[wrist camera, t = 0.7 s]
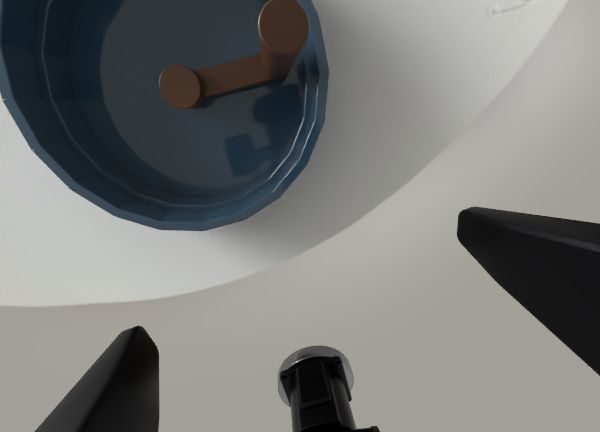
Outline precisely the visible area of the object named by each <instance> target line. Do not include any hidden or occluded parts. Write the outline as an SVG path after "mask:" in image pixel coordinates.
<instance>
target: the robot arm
mask: <svg viewBox="0 0 600 432" xmlns="http://www.w3.org/2000/svg"><path fill="white" fill-rule="evenodd" d="M457 237H458V240H459V241H460V243H461V244H462V245H463V246H464V247H465V248H466V249H467V251H468V252H469V253H470V254H471V255H472V256H473V257H474V258H475V259H476V260H477V261H478V263H479V264H480V265H481V266H482V267H483V268H484V269H485V270H486V271H487V272H488V273H489V274H490V276H491V277H492V278H493V279H494V280H495V281H496V282H497V283H498V284H499V285H500V286H501V287H502V288H503V289H505V290H506V291H507V292H508V293H509V294H510V295H511V296H512V297H514V298H515V299H516V300H517V301H518V302H519V303H520V304H521V305H522V306H523V307H524V308H526V309H527V310H528V311H529V312H530V313H531V314H532V315H533V316H535V318H537V319H538V320H539V321H540V322H541V323H542V324H543V325H544V326H545V327H547V328H548V329H549V330H550V331H551V332H552V333H553V334H554V335H556V336H557V337H558V338H559V339H560V340H561V341H562V342H563V343H564V344H565V345H566V346H567V347H569V348H570V349H571V350H572V351H573V352H574V353H575V354H576V355H577V356H579V357H580V358H581V359H582V360H583V361H584V362H585V363H586V364H587V365H588V366H590V367H591V368H592V369H593V370H594V371H595V372H596V373H597V374H598V375H599V376H600V224H598V223H591V222H583V221H576V220H569V219H562V218H554V217H547V216H540V215H532V214H525V213H517V212H511V211H503V210H496V209H488V208H481V207H471V208H468V209H465V210H462V211H461V212H460V213H459V216H458V229H457ZM285 375H286V376H285ZM280 380H281V383H282V385H283V388H284V391H285V393H286V396H287V399H288V401H289V404H290V406H291V414H292V428H293V432H380V431H379V429H378V427H377V426H371V427H370V428H364V429H356V426H355V423H354V419H353V415H352V412H351V408H350V404H349V402H350V401H351V400H352V398H351V394H350V390H349V386H348V383H347V379H346V375H345V371H344V367H343V364H342V360H341V357H339V356H334V357H330V358H327V359H323V360H319V361H316V362H312V363H309V364H305V365H301V366H298V367H294V368H290V369H287V370H283V371H281V372H280ZM158 425H159V353H158V349H157V346H156V345H155V343H154V342H153V341H152V339H151V338H150V336H149V335H148V333H147V332H146V330H145V329H144V328H143V327H142V326H136V327H133V328H130V329H127V330H124V331H123V332H121V333H120V334H119V335H118V337H117V338H116V339H115V340H114V341H113V342H112V344H110V346H109V347H108V348H107V349H106V350H105V352H104V353H103V354H102V355H101V356H100V357H99V358H98V359H97V361H96V362H95V363H94V364H93V365H92V366H91V368H90V369H89V370H88V371H87V372H86V373H85V374H84V376H83V377H82V378H81V379H80V380H79V381H78V383H77V384H76V385H75V386H74V387H73V388H72V389H71V391H70V392H69V393H68V394H67V395H66V396H65V397H64V399H63V400H62V401H61V402H60V403H59V404H58V405H57V407H56V408H55V409H54V410H53V411H52V412H51V413H50V415H49V416H48V417H47V418H46V419H45V420H44V422H43V423H42V424H41V425H40V426H39V427H38V428H37V430H36V431H35V432H158V427H159V426H158Z"/></svg>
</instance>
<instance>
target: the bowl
mask: <svg viewBox="0 0 600 432" xmlns="http://www.w3.org/2000/svg"><path fill="white" fill-rule="evenodd" d="M268 1H269V0H0V93H1V97H2V99H3V102H4V104H5V105H6V107H7V109H8V110H9V112H10V114H11V116H12V117H13V119H14V121H15V122H16V124H17V126H18V128H19V129H20V131H21V133H22V134H23V136H24V138H25V140H26V141H27V143H28V145H29V146H30V148H31V150H33V152H34V153H35V154H36V155H37V156H38V157H39V158H40V159H41V160H42V161H43V162H44V163H45V164H46V165H47V166H48V167H49V168H50V169H51V170H52V171H53V172H54V173H55V174H56V175H57V176H58V177H59V178H60V179H61V180H62V181H63V182H64V183H65V184H66V185H67V186H68V187H69V188H70V189H72V191H74V192H75V193H77V194H79V195H80V196H82V197H84V198H85V199H87V200H89V201H90V202H92V203H94V204H95V205H97V206H99V207H100V208H102V209H104V210H105V211H107V212H109V213H110V214H112V215H114V216H116V217H119V218H122V219H125V220H129V221H132V222H135V223H139V224H142V225H145V226H149V227H152V228H155V229H159V230H160V229H161V230H187V231H206V230H210V229H213V228H217V227H221V226H224V225H228V224H232V223H235V222H239V221H243V220H244V219H247V218H249V217H250V216H252V215H253V214H255V213H256V212H258V211H260V210H261V209H263V208H264V207H266V206H267V205H269V204H271V203H272V202H274V201H275V200H277V199H278V198H279V197H281V196H282V194H283V193H284V192H285V191H286V190H287V188H288V187H289V186H290V185H291V184H292V182H293V181H294V180H295V179H296V178H297V176H298V175H299V174H300V173H301V171H302V170H303V169H304V168H305V167H306V165H307V164H308V161H309V159H310V156H311V154H312V151H313V149H314V146H315V144H316V141H317V139H318V136H319V134H320V132H321V129H322V127H323V124H324V121H325V110H326V99H327V88H328V78H329V72H328V71H329V68H328V63H327V58H326V52H325V47H324V42H323V37H322V31H321V26H320V21H319V17H318V14H317V12H316V10H315V8H314V6H313V4H312V2H311V0H295V1H297V2H298V3H299V4H300V5H301V6H302V8H303V9H304V11H305V13H306V15H307V18H308V23H309V32H308V37H307V40H306V42H305V44H304V46H303V47H302V49H301V51H300V53H299V55H298V57H297V59H296V60H295V62H294V64H293V66H292V68H291V70H290V71H289V73H288V75H287V77H286V78H285V79H283V80H281V81H272V82H268V83H264V84H260V85H257V86H253V87H249V88H245V89H242V90H238V91H234V92H230V93H226V94H223V95H219V96H215V97H211V98H208V99H207V101H206V103H205V104H204V105H203V106H201V107H199V108H196V109H182V108H177V107H174V106H172V105H170V104H169V103H168V102H167V101H166V100H165V99H164V98H163V96H162V94H161V92H160V88H159V78H160V75H161V73H162V72H163V70H164V69H166V68H167V67H169V66H171V65H183V66H186V67H188V68H190V69H191V70H193V71H195V70H199V69H203V68H207V67H210V66H214V65H218V64H222V63H226V62H229V61H233V60H237V59H241V58H244V57H248V56H252V55H256V54H260V53H261V49H260V41H259V33H258V18H259V14H260V12H261V10H262V8H263V6H264V5H265V4H266V3H267V2H268Z"/></svg>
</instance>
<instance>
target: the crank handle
mask: <svg viewBox="0 0 600 432" xmlns="http://www.w3.org/2000/svg"><path fill="white" fill-rule="evenodd" d="M308 32H309V23H308V18H307V15H306V13H305V11H304V9H303V8H302V6H301V5H300V4H299V3H298V2H297V1H295V0H269V1H268V2H267V3H266V4H265V5H264V6H263V8H262V10H261V12H260V14H259V18H258V33H259V41H260V49H261V53H260V54H256V55H252V56H248V57H244V58H241V59H237V60H233V61H229V62H226V63H222V64H218V65H214V66H210V67H207V68H203V69H199V70H195V71H193V70H191V69H190V68H188V67H186V66H183V65H171V66H169V67H167V68H166V69H164V70H163V72H162V73H161V75H160V78H159V88H160V92H161V94H162V96H163V98H164V99H165V100H166V101H167V102H168V103H169V104H170V105H172V106H174V107H177V108H182V109H196V108H199V107H201V106H203V105H204V104H205V103H206V101H207V99H208V98H211V97H215V96H219V95H223V94H226V93H230V92H234V91H238V90H242V89H245V88H249V87H253V86H257V85H260V84H264V83H268V82H272V81H281V80H283V79H285V78H286V77H287V75H288V73H289V71H290V70H291V68H292V66H293V64H294V62H295V60H296V59H297V57H298V55H299V53H300V51H301V49H302V47H303V46H304V44H305V42H306V40H307V37H308Z"/></svg>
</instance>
